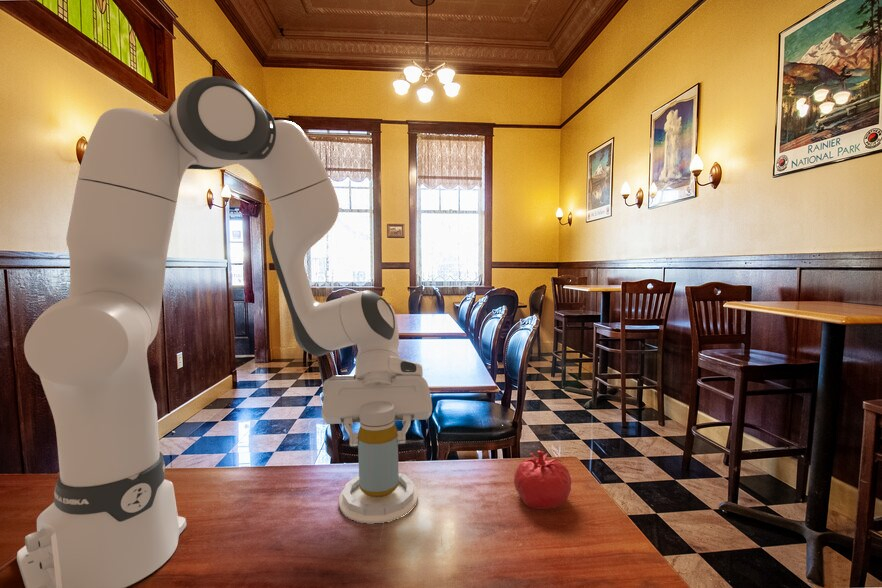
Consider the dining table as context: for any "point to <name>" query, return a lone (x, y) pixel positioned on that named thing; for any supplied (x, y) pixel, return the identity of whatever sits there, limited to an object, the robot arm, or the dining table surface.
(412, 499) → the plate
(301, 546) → the dining table surface
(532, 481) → the pomegranate
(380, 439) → the bottle
